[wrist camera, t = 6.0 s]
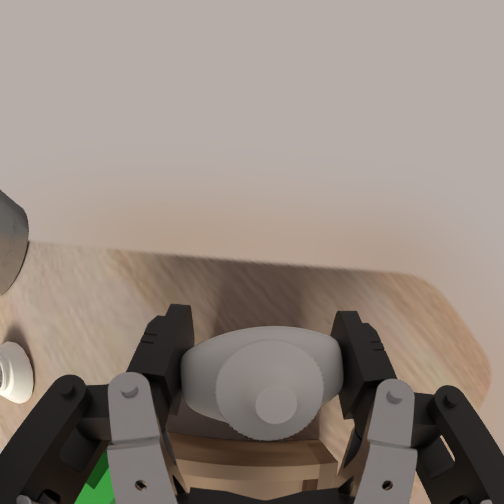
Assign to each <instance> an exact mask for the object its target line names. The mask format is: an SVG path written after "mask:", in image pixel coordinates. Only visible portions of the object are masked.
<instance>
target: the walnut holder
mask: <svg viewBox="0 0 504 504" xmlns="http://www.w3.org/2000/svg"><path fill="white" fill-rule="evenodd" d="M168 434H169V438H170V441H171V445H172V448H173V452H174V455H175V458H176V462H177V465H178V468H179V470H180V473H181V475H182V477H183V480H184V482H185V485H186V488H187V490H188V493H189V492H190V487H195V488H202V489H211V490H221V491H228V492H232V493H236V494H239V495H243V496H247V497H251V498H255V499H260V500H271V499H275V498H279V497H283V496H287V495H291V494H295V493H298V492H302V491H310V490H320V489H328V488H330V487H331V485H332V483H333V481H334V479H335V477H336V474H337V467H338V461H337V460H336V459H335V458H334V457H333V455H332V454H331V453H330V452H329V451H328V449H327V448H326V447H325V446H324V444H323V443H322V442H321V441H320V439H318V440H302V441H242V440H227V439H215V438H205V437H197V436H189V435H182V434H176V433H170V432H168Z"/></svg>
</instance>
